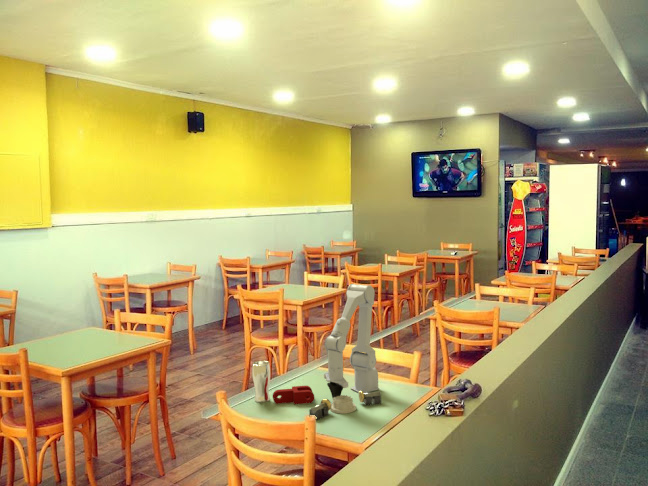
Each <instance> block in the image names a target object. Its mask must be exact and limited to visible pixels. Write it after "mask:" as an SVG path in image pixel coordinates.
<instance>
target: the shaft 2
mask: <svg viewBox="0 0 648 486" xmlns="http://www.w3.org/2000/svg"><path fill="white" fill-rule="evenodd" d="M358 400H359V403H364V405H365V406H373V404H374V405H378V406H379V405H382V393H381V391H371V392H366V393H363V391H359V392H358Z"/></svg>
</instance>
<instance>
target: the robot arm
mask: <svg viewBox="0 0 648 486" xmlns="http://www.w3.org/2000/svg"><path fill="white" fill-rule="evenodd" d="M345 294H346V302H345V305H344V308H343V311H342V314H341V317H340V318H338V319H337V320H336V322H335V324H334V326H333V329H332V331H331V334H329V336H327V337H326V338H325V340H324V345H323V346H324V348H325V351H326V353H325V354H326V355H327V366H328V367H327V369H328V371H327V372H324V373H323V379H325V381H326V382H327V384H326V385H327V387H328V389H329V391H330V394H331V397H332V399H333V398H334V397H337V396H341V395H342V393H343V389H345V388H349V382H348V381H347V380H346V379H345V377H344V357H343V356H344V355H343V352H344V350H345V348H346V346H347V345H346V344H347V336H348V333H349V331H350V328H351V323H350V321H351V319H352V317H353V315H354V313H355V311H356V310H357V307H359V309H358V310H359V313H358V326H357V328H358V329H357V341H356V345H355V346H354V347H352V348H351V352H350V356H349V364H350V365H351V366H352V369H353V370H354V386H352V387H350V390H353V391H355V392H357V393H359V391H363V393H371V392H376V391H378V390H380V388H379V373H378V370H377V369H378V368H376V364H377V358H376V350H375V348H373V347H372V346H371V334H372V333H371V330H372V316H373V306H374V304H375V288H374V287H373V286H372V285H370V284H368V285H365V284H354V283H351V284H349V285H348V287H347V289H346V293H345Z"/></svg>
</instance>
